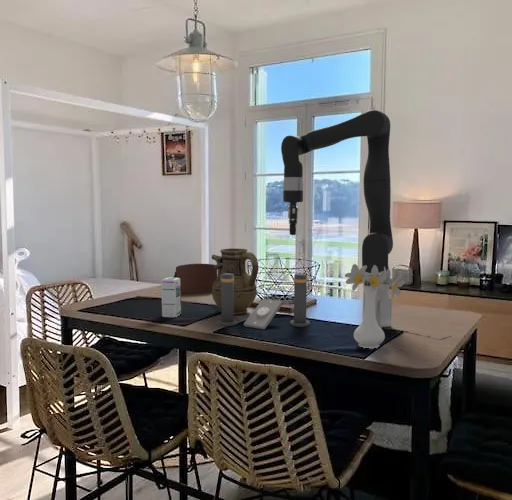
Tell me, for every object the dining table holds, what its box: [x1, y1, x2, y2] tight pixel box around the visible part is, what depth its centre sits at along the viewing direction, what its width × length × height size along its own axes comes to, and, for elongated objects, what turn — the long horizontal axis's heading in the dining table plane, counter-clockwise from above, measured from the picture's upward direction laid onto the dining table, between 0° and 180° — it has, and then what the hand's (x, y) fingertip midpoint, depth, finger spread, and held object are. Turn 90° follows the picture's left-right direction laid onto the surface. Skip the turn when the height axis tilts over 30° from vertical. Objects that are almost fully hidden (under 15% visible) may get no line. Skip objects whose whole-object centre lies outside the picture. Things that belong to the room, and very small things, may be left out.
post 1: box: [217, 273, 238, 327], centre depth 191 cm, size 7×7×18 cm
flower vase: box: [344, 263, 406, 350], centre depth 162 cm, size 13×18×25 cm
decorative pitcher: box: [211, 247, 259, 315], centre depth 209 cm, size 22×18×25 cm
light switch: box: [243, 298, 283, 330], centre depth 192 cm, size 8×6×14 cm
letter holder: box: [173, 263, 218, 295], centre depth 257 cm, size 10×20×14 cm, turn 106°
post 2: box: [289, 273, 311, 328], centre depth 190 cm, size 7×7×18 cm
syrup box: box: [160, 276, 182, 318], centre depth 204 cm, size 6×6×14 cm
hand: (292, 234), depth 204 cm, fingers open, 4 cm apart
